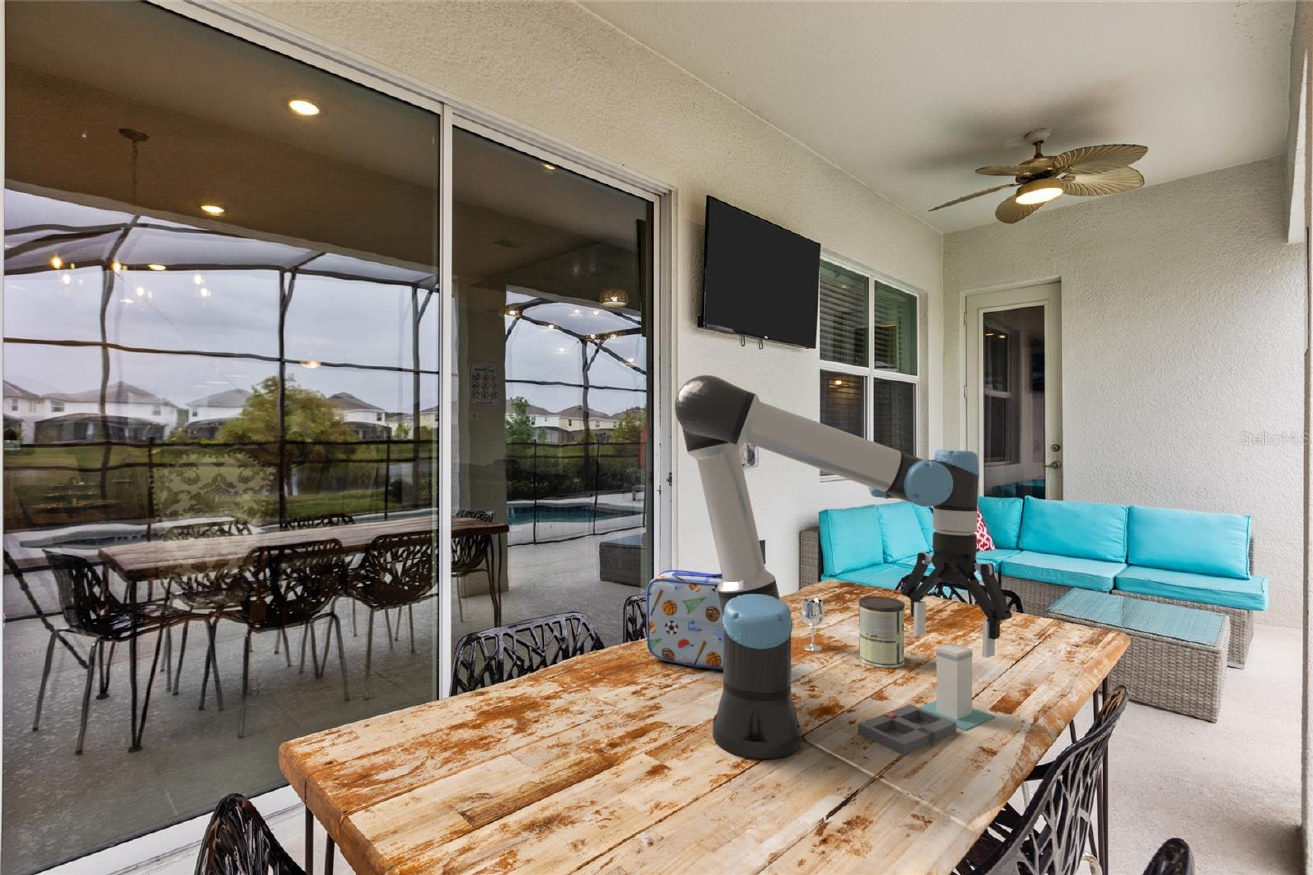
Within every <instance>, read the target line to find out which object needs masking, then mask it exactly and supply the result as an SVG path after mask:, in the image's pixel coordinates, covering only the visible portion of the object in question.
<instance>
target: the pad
mask: <svg viewBox="0 0 1313 875" xmlns="http://www.w3.org/2000/svg"><path fill="white" fill-rule="evenodd" d="M917 707H918V708H921V709H923V710H926V711H928V712H931V713H933V714H936V715H938V716H941V717H943V718H946V719H948V720H951V721H953V722H956V729H959V730H962V731H963V732H964V731H965V732H966V731H968V730H971V729H973V728H975V727H977V726H980V725H982V724H985V723H986V722H988V721H992V720H993V719H995V718H996V716H995V715H992V714H990V713H987V712H985V711H982V710H979V709H977V708H973V707H972V714H970V715H967V716H965V717H962V718H960V719H958V720H956V719H954V718H951V717H949V716H946V715H943V714H941V713H938V712H937V700H934V701H932V702H928V703H926V704H923V705H921V706H917Z"/></svg>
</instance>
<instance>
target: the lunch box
mask: <svg viewBox="0 0 1313 875" xmlns="http://www.w3.org/2000/svg"><path fill="white" fill-rule="evenodd" d="M721 580H722V573H709V572H707V573H706V572H700V571H699V572H698V571H692V570H691V571H689V570H683V569H682V570H681V569H680V570H679V569H669V570H664V571H661V572H660V573H659V574H658V575H657V577H655V578H653V579H651V581H649V583H648V585H647V587H646V590H645V591H646V592H645V593H646V594H645V600H646V601H645V602H646V647H647V649H648V652H649V653H650V654H651V655H652V656H653V657H654V658H656V659H659V660H663V661H665V662H671V663H676V664H680V665H685V666H690V667H694V668H707V669H714V670H723V658H724V626H723V614H722V609H721V604H720V600H719V595H718V590H717V586H718V585H719V583H720V582H721Z"/></svg>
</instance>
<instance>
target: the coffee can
mask: <svg viewBox="0 0 1313 875" xmlns="http://www.w3.org/2000/svg"><path fill="white" fill-rule="evenodd" d="M858 605H859V606H858V608H859V609H858V613H859V614H858V617H859V618H858V622H859V623H858V629H859V630H858V632H859V635H858V637H859V641H858V643H859V645H858V648H859V649H858V651H859V652H858V654H859V655H858V659H859V661H861V663H863V664H865V665H868V666H871V667H875V668H883V669H896V668H901V667H903V666H904V665H905V606H906V605H905V602H903V601H902V600H900V599H896V598H893V597H886V596H863V597H861V598H859V599H858Z"/></svg>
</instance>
